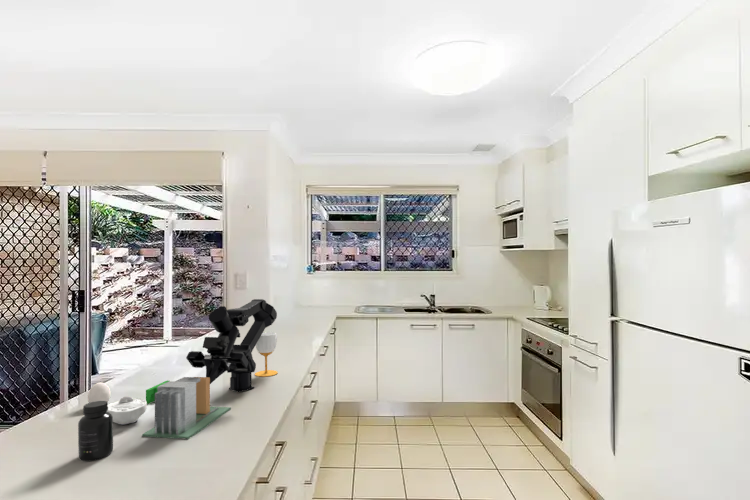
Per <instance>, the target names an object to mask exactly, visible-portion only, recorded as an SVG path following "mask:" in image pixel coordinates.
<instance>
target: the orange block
mask: <svg viewBox="0 0 750 500" xmlns="http://www.w3.org/2000/svg"><path fill="white" fill-rule="evenodd" d="M197 377H198V378H200V382H198V383H196V413H197V414H207V413H208V412H210V406H211V384H210V377H206V376H202V377H201V376H197Z"/></svg>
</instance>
